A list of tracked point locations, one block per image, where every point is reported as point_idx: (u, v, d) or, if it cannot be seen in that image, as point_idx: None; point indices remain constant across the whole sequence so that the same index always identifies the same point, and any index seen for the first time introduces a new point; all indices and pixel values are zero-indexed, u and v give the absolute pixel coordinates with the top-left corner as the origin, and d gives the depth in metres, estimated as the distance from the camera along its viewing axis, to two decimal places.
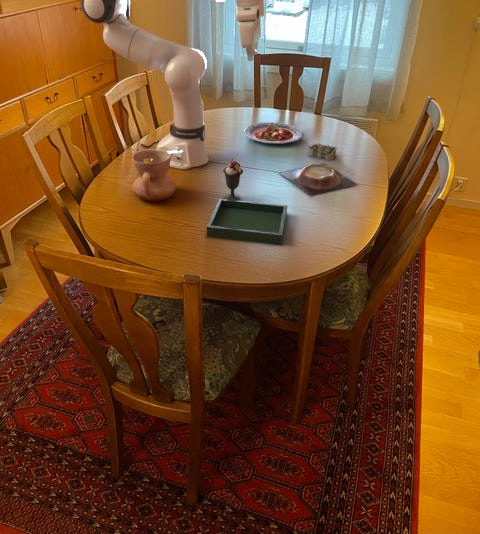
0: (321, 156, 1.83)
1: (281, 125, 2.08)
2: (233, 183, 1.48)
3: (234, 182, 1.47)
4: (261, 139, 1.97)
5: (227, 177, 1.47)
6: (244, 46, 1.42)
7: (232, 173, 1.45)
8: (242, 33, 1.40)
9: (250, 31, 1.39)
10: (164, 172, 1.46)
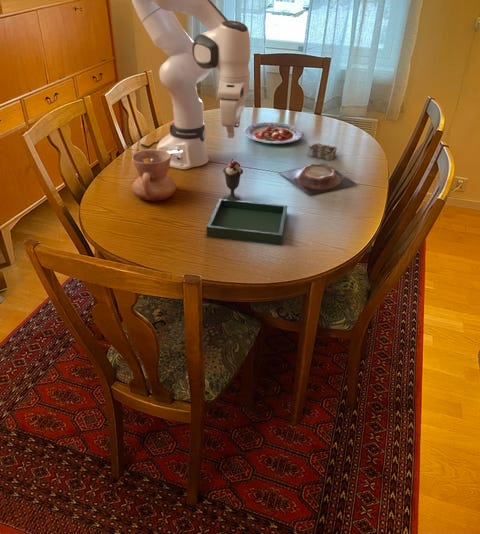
0: (321, 156, 1.83)
1: (281, 125, 2.08)
2: (233, 183, 1.48)
3: (234, 182, 1.47)
4: (261, 139, 1.97)
5: (227, 177, 1.47)
6: (224, 125, 1.29)
7: (232, 173, 1.45)
8: (223, 112, 1.27)
9: (232, 111, 1.26)
10: (164, 172, 1.46)
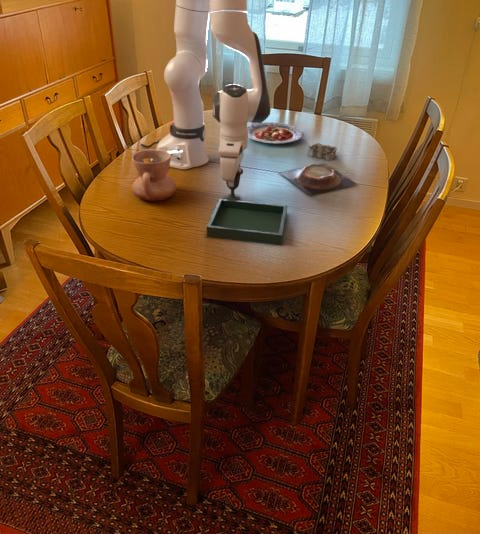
0: (321, 156, 1.83)
1: (281, 125, 2.08)
2: None
3: (234, 182, 1.47)
4: (261, 139, 1.96)
5: None
6: (224, 179, 1.39)
7: None
8: (223, 168, 1.37)
9: (231, 167, 1.36)
10: (164, 172, 1.46)
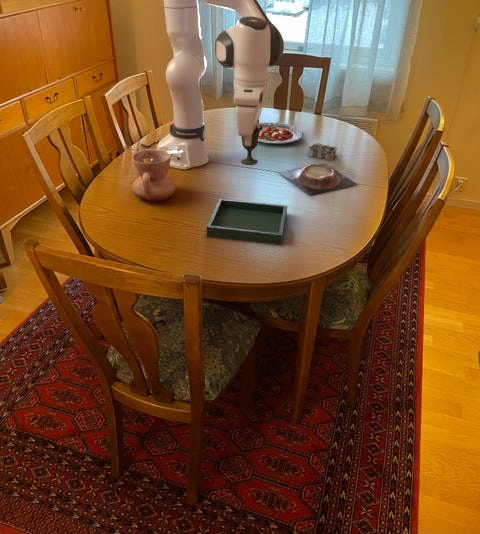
0: (321, 156, 1.83)
1: (281, 125, 2.08)
2: None
3: (252, 140, 1.23)
4: (261, 139, 1.96)
5: None
6: (241, 134, 1.15)
7: None
8: (240, 120, 1.13)
9: (250, 119, 1.12)
10: (164, 172, 1.46)
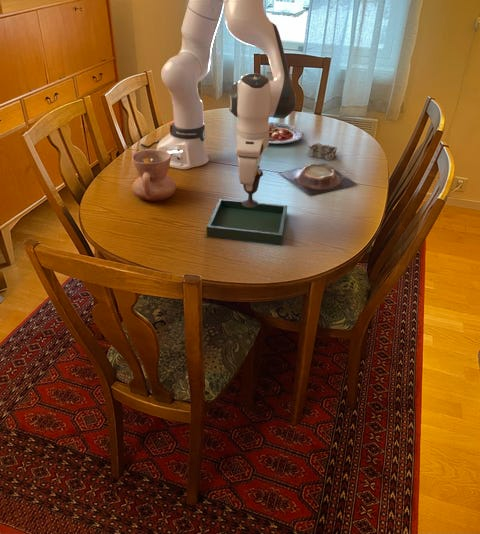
0: (321, 156, 1.83)
1: (281, 125, 2.08)
2: None
3: (253, 185, 1.30)
4: None
5: None
6: (242, 183, 1.21)
7: None
8: (241, 170, 1.19)
9: (251, 169, 1.18)
10: (164, 172, 1.46)
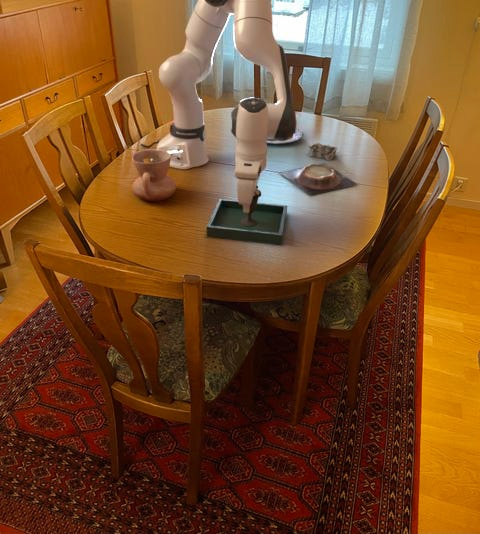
0: (321, 156, 1.83)
1: None
2: (250, 207, 1.33)
3: (252, 205, 1.33)
4: None
5: None
6: (241, 203, 1.24)
7: None
8: (240, 191, 1.22)
9: (249, 190, 1.22)
10: (164, 172, 1.46)
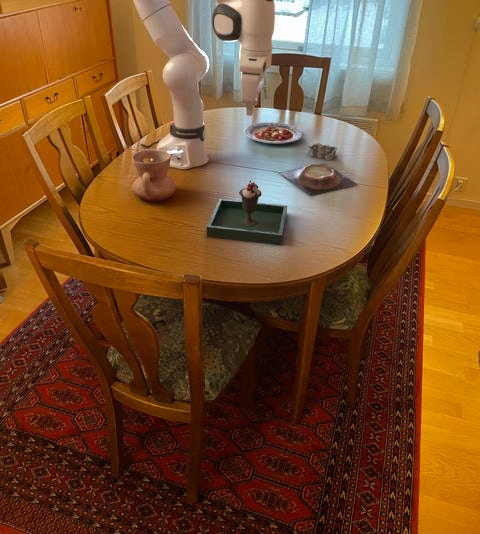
0: (321, 156, 1.83)
1: (281, 125, 2.08)
2: (250, 206, 1.34)
3: (252, 205, 1.33)
4: (261, 139, 1.97)
5: (244, 200, 1.33)
6: (244, 101, 1.23)
7: (250, 196, 1.31)
8: (244, 87, 1.20)
9: (253, 86, 1.20)
10: (164, 172, 1.46)
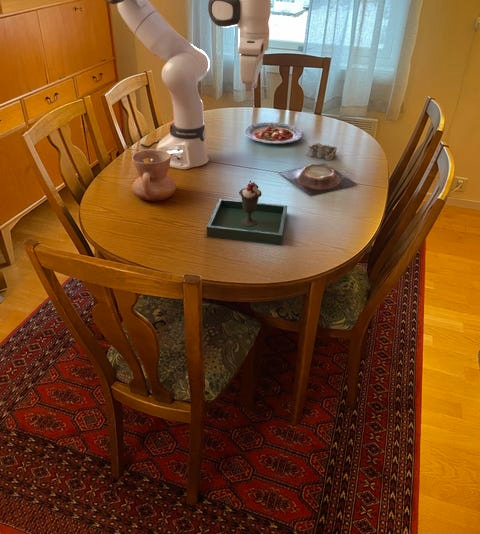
0: (321, 156, 1.83)
1: (281, 125, 2.08)
2: (250, 206, 1.34)
3: (252, 205, 1.33)
4: (261, 139, 1.96)
5: (244, 200, 1.33)
6: (244, 82, 1.29)
7: (250, 196, 1.31)
8: (243, 68, 1.27)
9: (252, 67, 1.26)
10: (164, 172, 1.46)
